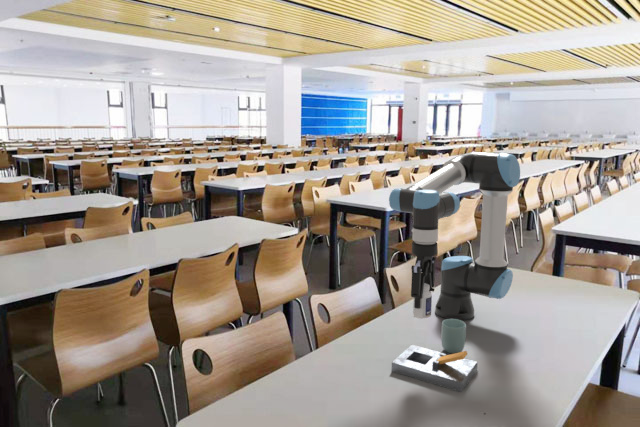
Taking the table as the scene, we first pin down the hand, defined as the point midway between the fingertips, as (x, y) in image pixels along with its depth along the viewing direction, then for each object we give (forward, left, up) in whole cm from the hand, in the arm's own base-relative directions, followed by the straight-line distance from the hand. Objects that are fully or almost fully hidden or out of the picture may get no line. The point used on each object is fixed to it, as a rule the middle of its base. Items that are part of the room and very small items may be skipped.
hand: (422, 314), depth 159 cm
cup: (-16, +5, -18) cm, 25 cm away
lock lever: (0, +10, -13) cm, 16 cm away
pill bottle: (0, 0, -1) cm, 1 cm away
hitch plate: (0, +5, -18) cm, 18 cm away
